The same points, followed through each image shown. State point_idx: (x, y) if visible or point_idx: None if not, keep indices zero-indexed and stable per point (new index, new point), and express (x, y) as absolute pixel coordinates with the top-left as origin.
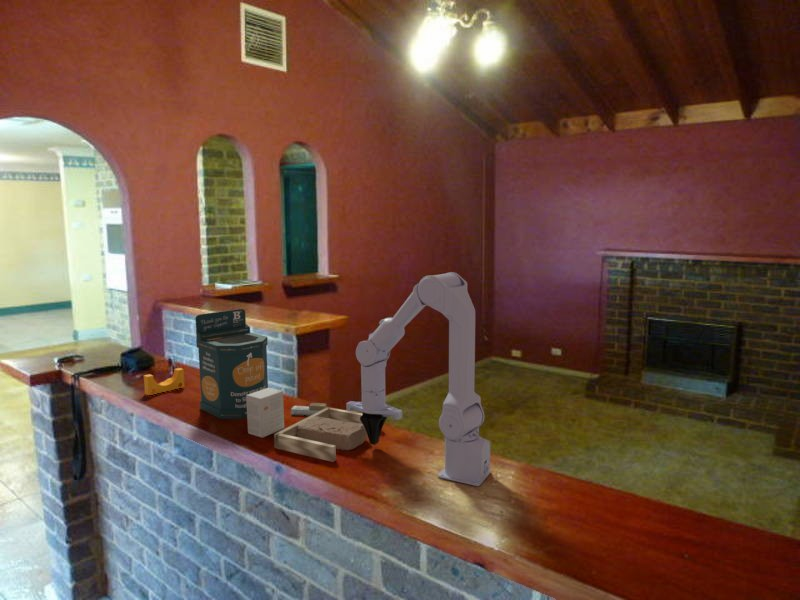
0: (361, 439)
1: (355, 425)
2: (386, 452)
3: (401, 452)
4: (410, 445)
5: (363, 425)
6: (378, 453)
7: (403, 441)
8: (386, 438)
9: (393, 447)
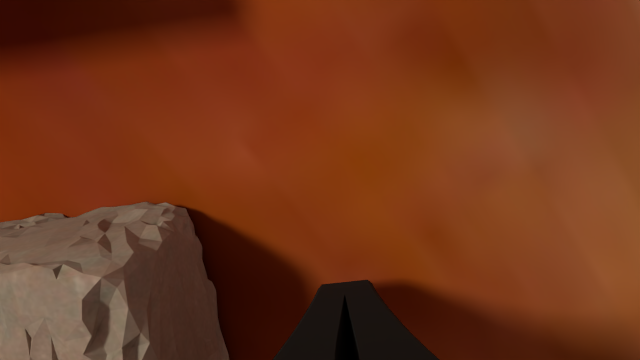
0: (206, 323)
1: (14, 357)
2: (476, 298)
3: (587, 235)
4: (594, 63)
5: (87, 304)
6: (432, 342)
7: (485, 19)
8: (300, 57)
9: (474, 190)
